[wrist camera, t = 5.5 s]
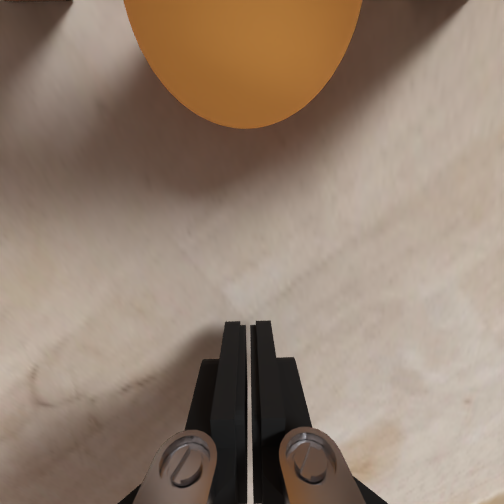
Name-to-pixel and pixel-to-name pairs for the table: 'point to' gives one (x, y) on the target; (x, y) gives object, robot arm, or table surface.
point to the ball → (243, 53)
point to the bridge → (33, 0)
